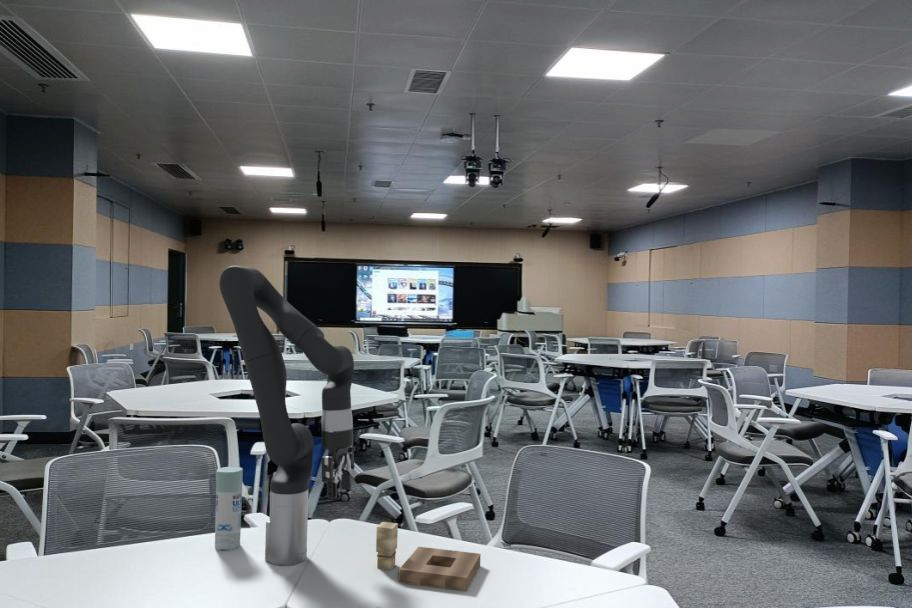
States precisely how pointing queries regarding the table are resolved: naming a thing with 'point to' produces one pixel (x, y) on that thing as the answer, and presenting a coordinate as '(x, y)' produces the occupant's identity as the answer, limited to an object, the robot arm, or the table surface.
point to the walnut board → (440, 568)
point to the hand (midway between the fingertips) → (339, 493)
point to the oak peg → (386, 544)
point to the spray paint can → (228, 508)
